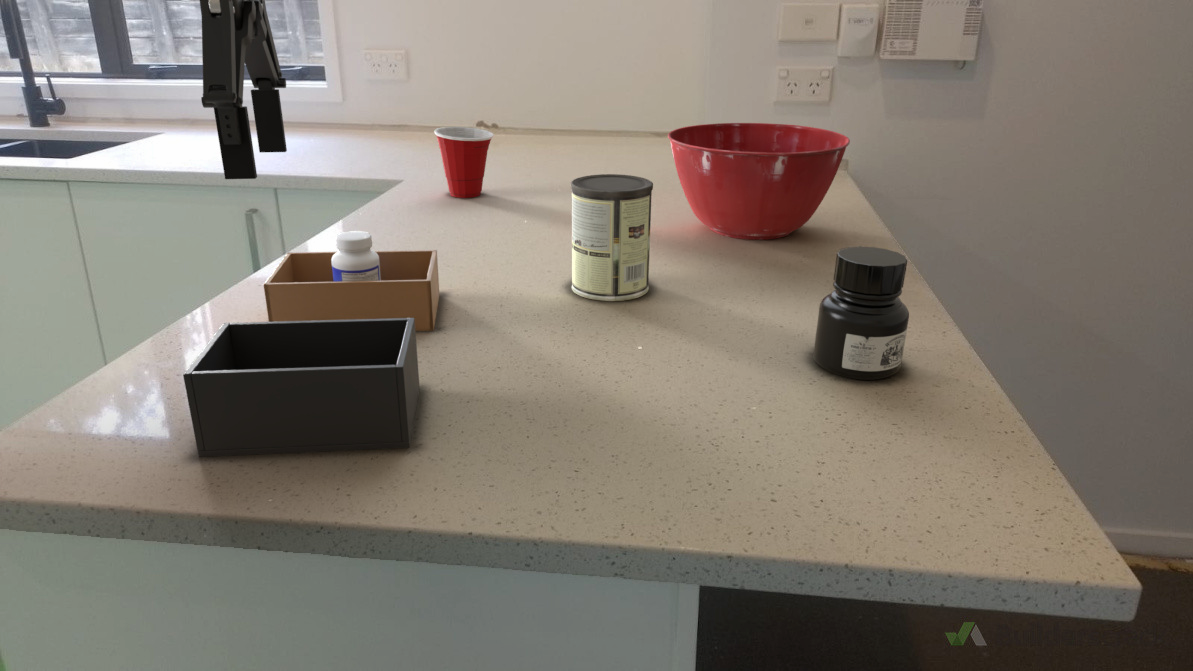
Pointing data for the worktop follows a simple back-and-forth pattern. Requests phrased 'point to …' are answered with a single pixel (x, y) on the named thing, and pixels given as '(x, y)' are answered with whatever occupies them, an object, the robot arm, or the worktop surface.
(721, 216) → the mixing bowl
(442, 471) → the worktop surface
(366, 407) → the open box
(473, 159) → the plastic cup
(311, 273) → the carton
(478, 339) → the worktop surface
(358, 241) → the pill bottle
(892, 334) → the ink bottle
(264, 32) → the robot arm
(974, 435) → the worktop surface
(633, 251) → the coffee can
